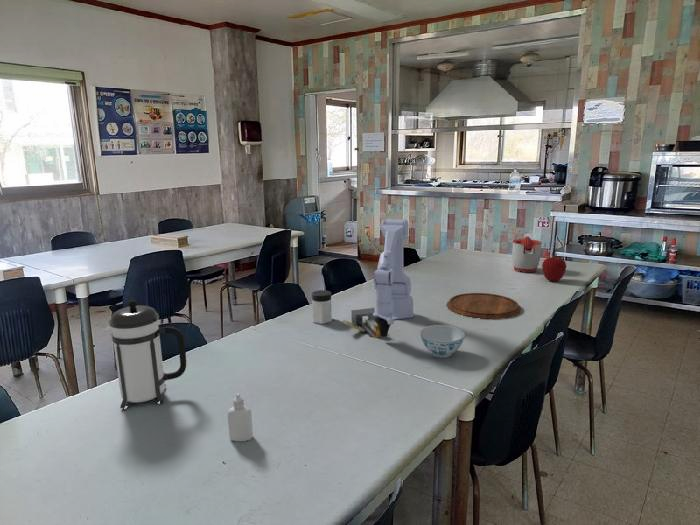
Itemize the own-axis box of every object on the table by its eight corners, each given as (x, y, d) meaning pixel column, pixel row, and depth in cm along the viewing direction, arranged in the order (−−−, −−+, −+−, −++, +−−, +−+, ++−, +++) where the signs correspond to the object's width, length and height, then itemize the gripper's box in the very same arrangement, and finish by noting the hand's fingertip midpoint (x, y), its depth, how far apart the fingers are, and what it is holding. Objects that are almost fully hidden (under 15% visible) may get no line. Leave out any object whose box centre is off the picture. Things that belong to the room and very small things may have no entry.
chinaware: (436, 341, 179) (437, 322, 177) (472, 353, 169) (473, 332, 167) (411, 354, 169) (411, 333, 167) (447, 367, 158) (448, 345, 157)
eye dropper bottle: (239, 430, 125) (236, 387, 122) (255, 437, 122) (252, 393, 119) (226, 438, 121) (223, 395, 118) (242, 445, 118) (239, 401, 115)
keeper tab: (361, 330, 192) (363, 327, 192) (365, 333, 188) (366, 330, 188) (342, 321, 189) (343, 318, 189) (345, 325, 185) (346, 322, 185)
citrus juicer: (513, 274, 271) (515, 239, 266) (508, 266, 288) (510, 233, 283) (543, 275, 268) (545, 239, 264) (536, 267, 285) (539, 234, 280)
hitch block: (374, 319, 204) (374, 307, 203) (390, 334, 187) (390, 321, 186) (351, 321, 201) (351, 310, 200) (365, 337, 184) (365, 324, 183)
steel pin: (372, 326, 196) (372, 315, 195) (383, 336, 185) (383, 325, 184) (365, 327, 195) (365, 316, 194) (375, 337, 184) (375, 326, 183)
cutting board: (439, 315, 208) (440, 309, 208) (453, 294, 237) (453, 289, 236) (518, 324, 196) (518, 318, 196) (522, 301, 225) (523, 295, 225)
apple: (568, 283, 251) (571, 258, 247) (546, 284, 251) (548, 258, 248) (559, 277, 262) (561, 253, 259) (537, 278, 262) (539, 253, 259)
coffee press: (139, 418, 131) (126, 312, 124) (105, 402, 139) (90, 303, 133) (191, 391, 145) (181, 295, 139) (156, 378, 154) (146, 287, 147)
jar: (317, 325, 198) (316, 297, 195) (308, 319, 204) (307, 292, 202) (336, 320, 203) (335, 293, 200) (326, 315, 209) (325, 288, 206)
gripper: (366, 296, 182) (367, 330, 185) (380, 308, 169) (380, 344, 172) (384, 294, 184) (384, 328, 187) (399, 306, 171) (399, 342, 174)
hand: (383, 336), depth 180 cm, fingers closed
